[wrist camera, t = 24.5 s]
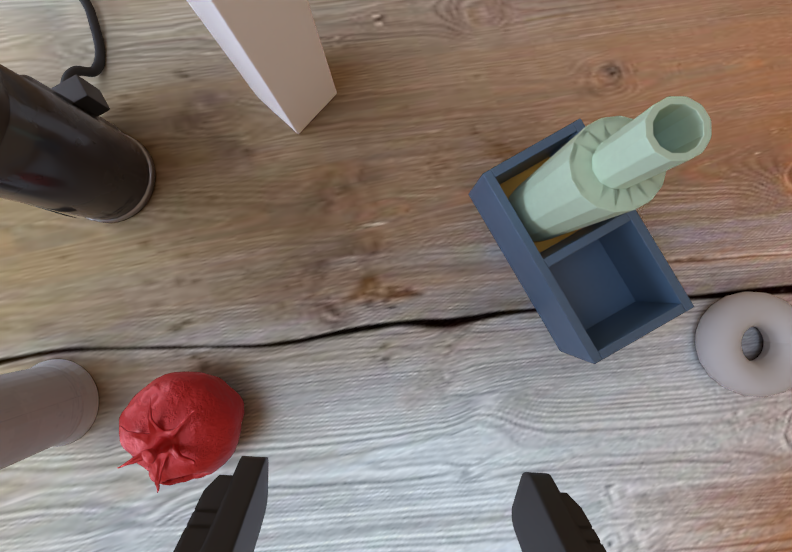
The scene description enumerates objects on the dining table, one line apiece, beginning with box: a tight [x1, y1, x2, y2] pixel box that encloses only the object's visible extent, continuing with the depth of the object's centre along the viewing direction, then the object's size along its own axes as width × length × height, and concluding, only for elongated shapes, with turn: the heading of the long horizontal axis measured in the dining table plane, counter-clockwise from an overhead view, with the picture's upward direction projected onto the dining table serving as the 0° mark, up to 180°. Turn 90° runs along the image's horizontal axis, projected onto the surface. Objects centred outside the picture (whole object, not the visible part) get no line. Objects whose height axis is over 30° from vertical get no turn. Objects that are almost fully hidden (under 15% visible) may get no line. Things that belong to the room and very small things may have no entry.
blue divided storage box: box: [469, 119, 694, 364], centre depth 34 cm, size 10×18×7 cm, turn 30°
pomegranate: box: [118, 372, 244, 493], centre depth 33 cm, size 10×10×9 cm
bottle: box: [508, 96, 712, 241], centre depth 27 cm, size 6×6×19 cm
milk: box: [186, 0, 337, 134], centre depth 28 cm, size 6×6×22 cm
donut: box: [695, 291, 792, 397], centre depth 35 cm, size 10×4×10 cm
